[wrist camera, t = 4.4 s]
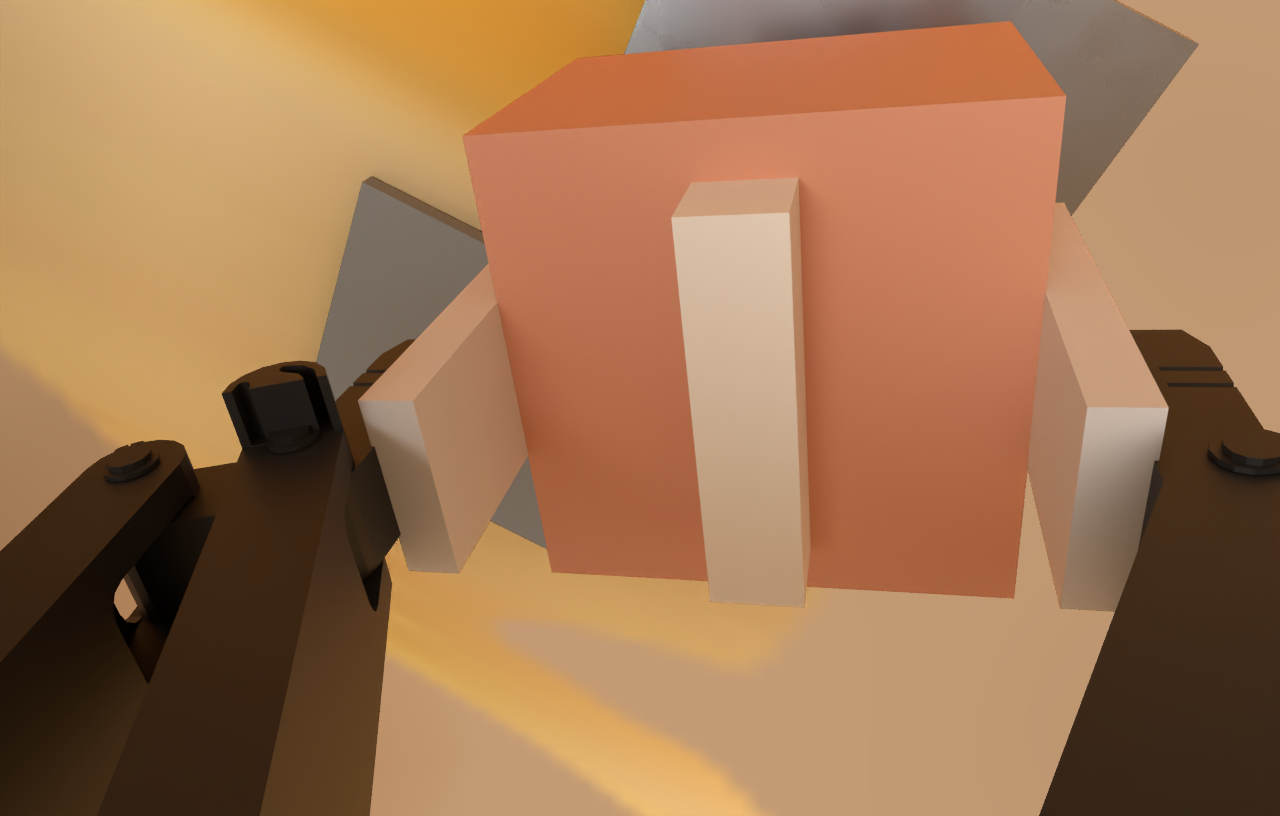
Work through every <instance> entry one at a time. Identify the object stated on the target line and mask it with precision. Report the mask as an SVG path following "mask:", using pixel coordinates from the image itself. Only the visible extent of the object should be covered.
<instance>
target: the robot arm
mask: <svg viewBox="0 0 1280 816" xmlns="http://www.w3.org/2000/svg"><path fill="white" fill-rule="evenodd" d="M222 396H223V399H224V401H225V404H226V406H227V409H228V412H229V414H230V417H231V420H232V422H233V425H234V427H235V430H236V433H237V435H238V438H239V441H240V443H241V446H242V451H241V453H240V456H239V458H238V461H237V462H236V463H230V464H224V465H218V466H212V467H206V468H199V469H193V467H192V464H191V462H190V459H189V457H188V455H187V452H186V450H185V447H184V445H182V444H180V443H178V442H176V441H170V440H155V441H149V442H144V441H140V442H136V443H132V444H131V446H128V445H126V446H123V447H120V448H118V449H116V450H115V451H114V452H113V453H111V454H109V455H107V456H105V457H103V458H101V459H100V460H98V461H97V462H96V463H94V464H93V465H92V466H90V467H89V468H88V469H86V470H85V471H84V472H83V473H82V474H81V475H80V476H79V477H78V478H77V479H76V480H75V481H74V482H73V483H72V484H71V485H69V486H68V487H67V488H66V489H65V490H64V491H63V492H62V493H61V494H60V495H59V496H58V497H57V498H56V499H55V500H54V501H53V502H52V503H51V504H50V505H48V506H47V508H45V509H44V510H43V511H42V512H41V513H40V514H39V515H38V516H37V517H36V518H35V519H34V520H33V521H32V522H31V523H30V524H29V525H27V527H25V528H24V530H22V531H21V532H20V533H19V534H18V535H17V536H16V537H15V538H14V539H13V540H12V541H11V542H10V543H9V544H8V545H6V547H4V548H3V549H2V550H1V551H0V816H370V805H371V795H372V785H373V775H374V764H375V754H376V744H377V734H378V723H379V712H380V702H381V692H382V682H383V672H384V661H385V651H386V641H387V630H388V620H389V610H390V599H391V589H392V582H391V577H390V573H389V570H388V567H387V564H386V561H385V556H386V555H387V553H388V552H389V550H390V549H391V548H392V546H393V545H394V543H395V542H396V540H397V539H398V538H399V539H400V543H401V546H402V549H403V553H404V556H405V559H406V563H407V566H408V569H409V571H423V572H441V573H458V574H459V573H460V571H461V569H462V567H463V566H464V564H465V562H466V561H467V559H468V557H469V556H470V554H471V552H472V550H473V549H474V547H475V545H476V544H477V542H478V540H479V538H480V537H481V535H482V533H483V532H484V530H485V528H486V526H487V525H488V523H489V521H490V520H491V518H492V516H493V515H494V513H495V511H496V509H497V508H498V506H499V504H500V503H501V501H502V499H503V497H504V496H505V494H506V492H507V491H508V489H509V487H510V485H511V484H512V482H513V480H514V479H515V477H516V475H517V474H518V472H519V470H520V468H521V467H522V465H523V463H524V462H525V460H526V458H527V456H528V450H527V445H526V440H525V435H524V431H523V426H522V421H521V416H520V411H519V406H518V401H517V396H516V391H515V386H514V382H513V377H512V372H511V367H510V362H509V357H508V352H507V347H506V342H505V338H504V333H503V328H502V323H501V318H500V313H499V308H498V303H497V302H496V297H495V292H494V287H493V282H492V277H491V273H490V268H489V263H488V264H487V265H486V267H485V268H484V269H483V270H482V271H481V272H480V273H479V274H478V275H477V276H476V277H475V278H474V279H473V280H472V281H471V282H470V283H469V284H468V285H467V286H466V288H465V289H464V290H463V291H462V292H461V293H460V294H459V295H458V296H457V297H456V298H455V299H454V300H453V301H452V302H451V303H450V304H449V305H448V306H447V307H446V309H445V310H444V311H443V312H442V313H441V314H440V315H439V316H438V317H437V318H436V319H435V320H434V321H433V322H432V323H431V324H430V325H429V326H428V327H427V328H426V329H425V331H424V332H423V333H422V334H421V335H420V336H419V337H418V338H417V339H407V340H406V341H404V342H402V343H400V344H399V345H397V346H395V347H393V348H391V349H390V350H388V351H386V352H384V353H382V354H381V355H380V356H379V357H378V358H377V359H376V360H375V361H374V362H373V363H372V364H371V365H370V366H369V367H368V368H367V369H366V373H362V374H361V375H360V376H359V377H358V378H357V379H356V380H355V381H354V382H353V386H349V387H348V389H347V390H346V391H345V392H344V393H343V394H342V395H341V396H340V397H339V398H338V399H337V400H336V401H335V398H334V395H333V392H332V389H331V385H330V382H329V379H328V376H327V373H326V370H325V367H323V366H321V365H320V364H318V363H316V362H307V361H294V362H283V363H279V364H275V365H271V366H267V367H263V368H260V369H258V370H255V371H253V372H251V373H248V374H246V375H244V376H242V377H240V378H239V379H237V380H236V381H234V382H233V383H231V384H230V385H229V386H228V387H227V388H226V389H225V390H224V392H223V393H222ZM1027 469H1028V473H1029V477H1030V482H1031V486H1032V490H1033V494H1034V499H1035V503H1036V507H1037V511H1038V516H1039V520H1040V525H1041V529H1042V533H1043V538H1044V542H1045V546H1046V550H1047V555H1048V559H1049V564H1050V568H1051V572H1052V576H1053V581H1054V585H1055V589H1056V593H1057V598H1058V602H1059V606H1060V608H1062V609H1079V610H1096V611H1113V612H1115V614H1114V616H1113V619H1112V622H1111V624H1110V627H1109V630H1108V632H1107V635H1106V638H1105V640H1104V643H1103V646H1102V648H1101V651H1100V654H1099V656H1098V659H1097V662H1096V664H1095V667H1094V670H1093V673H1092V675H1091V678H1090V681H1089V683H1088V686H1087V689H1086V691H1085V694H1084V697H1083V699H1082V702H1081V705H1080V708H1079V710H1078V713H1077V716H1076V718H1075V721H1074V724H1073V726H1072V729H1071V732H1070V734H1069V737H1068V740H1067V743H1066V745H1065V748H1064V750H1063V753H1062V756H1061V758H1060V761H1059V764H1058V767H1057V769H1056V772H1055V775H1054V777H1053V780H1052V783H1051V785H1050V788H1049V791H1048V793H1047V796H1046V799H1045V801H1044V804H1043V807H1042V809H1041V812H1040V815H1039V816H1280V433H1276V432H1272V431H1269V430H1264V429H1263V427H1262V426H1261V424H1260V423H1259V421H1258V419H1257V418H1256V416H1255V415H1254V413H1253V412H1252V410H1251V409H1250V407H1249V406H1248V404H1247V403H1246V401H1245V400H1244V398H1243V396H1242V395H1241V393H1240V392H1239V391H1238V389H1237V388H1236V387H1234V383H1233V381H1232V380H1231V378H1230V377H1229V375H1228V374H1227V372H1226V371H1223V366H1222V364H1221V363H1220V362H1219V360H1218V358H1217V357H1216V355H1215V354H1214V352H1213V351H1212V349H1211V348H1210V347H1209V346H1208V345H1206V344H1204V343H1203V342H1201V341H1199V340H1198V339H1196V338H1194V337H1193V336H1191V335H1189V334H1188V333H1186V332H1184V331H1182V330H1129V329H1128V327H1127V325H1126V323H1125V321H1124V319H1123V317H1122V315H1121V313H1120V311H1119V310H1118V308H1117V305H1116V304H1115V302H1114V300H1113V298H1112V296H1111V294H1110V292H1109V290H1108V288H1107V286H1106V284H1105V282H1104V280H1103V278H1102V276H1101V274H1100V272H1099V270H1098V268H1097V266H1096V264H1095V263H1094V260H1093V258H1092V256H1091V255H1090V253H1089V251H1088V249H1087V247H1086V245H1085V243H1084V241H1083V239H1082V237H1081V235H1080V233H1079V231H1078V229H1077V227H1076V225H1075V223H1074V221H1073V219H1072V217H1071V215H1070V213H1069V211H1068V209H1067V207H1066V205H1065V203H1055V210H1054V219H1053V229H1052V239H1051V248H1050V258H1049V267H1048V277H1047V287H1046V292H1045V299H1044V309H1043V318H1042V328H1041V338H1040V347H1039V357H1038V367H1037V376H1036V386H1035V395H1034V405H1033V415H1032V424H1031V434H1030V444H1029V453H1028V463H1027ZM123 578H124V580H125V582H126V584H127V586H128V588H129V590H130V592H131V594H132V596H133V598H134V600H135V602H136V604H137V607H136V609H135V610H134V611H133V613H132V614H131V615H130V616H129V617H128V618H127V619H126V620H124V618H123V617H122V616H121V615H120V614H119V612H118V610H117V608H116V606H115V604H114V595H115V592H116V590H117V588H118V586H119V584H120V582H121V580H122V579H123Z"/></svg>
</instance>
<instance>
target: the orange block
mask: <svg viewBox="0 0 1280 816" xmlns="http://www.w3.org/2000/svg"><path fill="white" fill-rule="evenodd" d="M1065 104H1066V95H1065V93H1064V92H1063V91H1062V89H1061V88H1060V87H1059V85H1058V84H1057V83H1056V81H1055V80H1054V79H1053V77H1052V76H1051V75H1050V73H1049V72H1048V70H1047V69H1046V68H1045V66H1044V65H1043V64H1042V62H1041V61H1040V60H1039V58H1038V57H1037V56H1036V54H1035V53H1034V52H1033V50H1032V49H1031V48H1030V46H1029V45H1028V44H1027V42H1026V41H1025V40H1024V38H1023V37H1022V36H1021V34H1020V33H1019V32H1018V30H1017V29H1016V28H1015V26H1014V25H1013V24H1012V22H1011V21H1005V22H994V23H982V24H971V25H959V26H947V27H936V28H924V29H912V30H901V31H889V32H877V33H866V34H854V35H842V36H831V37H819V38H807V39H796V40H784V41H772V42H761V43H749V44H738V45H726V46H714V47H703V48H691V49H679V50H668V51H656V52H644V53H633V54H621V55H609V56H598V57H586V58H577V59H576V60H574V61H573V62H571V63H570V64H568V65H567V66H565V67H564V68H562V69H561V70H559V71H558V72H556V73H555V74H553V75H552V76H551V77H549V78H548V79H546V80H545V81H543V82H542V83H540V84H539V85H537V86H536V87H534V88H533V89H531V90H530V91H528V92H527V93H525V94H524V95H522V96H521V97H519V98H518V99H516V100H515V101H514V102H512V103H511V104H509V105H508V106H506V107H505V108H503V109H502V110H500V111H499V112H497V113H496V114H494V115H493V116H491V117H490V118H488V119H487V120H485V121H484V122H482V123H481V124H479V125H478V126H476V127H475V128H474V129H472V130H471V131H469V132H468V133H466V134H465V135H463V141H464V146H465V151H466V155H467V160H468V165H469V170H470V175H471V180H472V185H473V190H474V194H475V199H476V204H477V209H478V214H479V219H480V224H481V229H482V233H483V238H484V243H485V248H486V253H487V258H488V263H489V268H490V273H491V277H492V282H493V287H494V292H495V297H496V302H497V303H498V308H499V313H500V318H501V323H502V328H503V333H504V338H505V342H506V347H507V352H508V357H509V362H510V367H511V372H512V377H513V382H514V386H515V391H516V396H517V401H518V406H519V411H520V416H521V421H522V426H523V431H524V435H525V440H526V445H527V450H528V458H529V463H530V468H531V473H532V477H533V482H534V487H535V492H536V497H537V502H538V507H539V512H540V516H541V521H542V526H543V531H544V536H545V541H546V546H547V551H548V556H549V560H550V565H551V570H552V572H558V573H576V574H593V575H611V576H628V577H646V578H664V579H681V580H699V581H708V584H709V594H710V602H722V603H738V604H754V605H770V606H786V607H802V608H804V606H805V597H806V587H822V588H840V589H857V590H875V591H894V592H910V593H928V594H945V595H963V596H981V597H999V598H1014V593H1015V584H1016V575H1017V565H1018V555H1019V546H1020V545H1019V544H1020V536H1021V526H1022V517H1023V507H1024V498H1025V487H1026V479H1027V478H1026V477H1027V463H1028V453H1029V444H1030V434H1031V424H1032V415H1033V405H1034V395H1035V386H1036V376H1037V367H1038V357H1039V347H1040V338H1041V328H1042V318H1043V309H1044V299H1045V292H1046V287H1047V277H1048V267H1049V258H1050V248H1051V239H1052V229H1053V219H1054V210H1055V200H1056V191H1057V181H1058V172H1059V162H1060V152H1061V143H1062V133H1063V123H1064V114H1065Z"/></svg>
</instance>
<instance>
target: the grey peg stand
mask: <svg viewBox="0 0 1280 816" xmlns="http://www.w3.org/2000/svg"><path fill="white" fill-rule="evenodd" d="M1005 21H1011V22H1012V24H1013V25H1014V26H1015V28H1016V29H1017V30H1018V32H1019V33H1020V34H1021V36H1022V37H1023V38H1024V40H1025V41H1026V42H1027V44H1028V45H1029V46H1030V48H1031V49H1032V50H1033V52H1034V53H1035V54H1036V56H1037V57H1038V58H1039V60H1040V61H1041V62H1042V64H1043V65H1044V66H1045V68H1046V69H1047V70H1048V72H1049V73H1050V75H1051V76H1052V77H1053V79H1054V80H1055V81H1056V83H1057V84H1058V85H1059V87H1060V88H1061V89H1062V91H1063V92H1064V93H1065V95H1066V104H1065V114H1064V123H1063V133H1062V143H1061V152H1060V162H1059V172H1058V181H1057V191H1056V200H1055V203H1065V205H1066V207H1067V209H1068V211H1069V213H1070V215H1071V216H1072V214H1073V213H1074V212H1075V210H1076V209H1077V208H1078V206H1079V205H1080V204H1081V202H1082V201H1083V200H1084V198H1085V197H1086V196H1087V194H1088V193H1089V191H1090V190H1091V189H1092V188H1093V186H1094V185H1095V183H1096V182H1097V181H1098V179H1099V178H1100V177H1101V175H1102V174H1103V172H1104V171H1105V170H1106V169H1107V167H1108V166H1109V165H1110V163H1111V162H1112V160H1113V159H1114V157H1116V155H1117V153H1118V152H1119V151H1120V150H1121V148H1122V147H1123V146H1124V144H1125V143H1126V142H1127V140H1128V139H1129V138H1130V136H1131V135H1132V134H1133V132H1134V131H1135V130H1136V128H1137V127H1138V126H1139V124H1140V123H1141V121H1142V120H1143V119H1144V118H1145V116H1146V115H1147V113H1148V112H1149V111H1150V109H1151V108H1152V107H1153V105H1154V104H1155V103H1156V101H1157V100H1158V99H1159V97H1160V96H1161V94H1162V93H1163V92H1164V91H1165V89H1166V88H1167V87H1168V85H1169V84H1170V83H1171V81H1172V80H1173V78H1174V77H1175V76H1176V74H1177V73H1178V72H1179V70H1180V69H1181V68H1182V66H1183V65H1184V64H1185V62H1186V61H1187V60H1188V58H1189V57H1190V55H1191V54H1192V53H1193V52H1194V50H1195V49H1196V47H1197V46H1198V43H1196V42H1194V41H1193V40H1191V39H1190V38H1188V37H1186V36H1184V35H1182V34H1180V33H1178V32H1176V31H1175V30H1173V29H1171V28H1169V27H1166V26H1165V25H1163V24H1161V23H1159V22H1157V21H1155V20H1153V19H1151V18H1149V17H1147V16H1145V15H1144V14H1141V13H1140V12H1138V11H1136V10H1134V9H1132V8H1130V7H1128V6H1126V5H1124V4H1122V3H1120V2H1118V1H1116V0H645V2H644V5H643V8H642V10H641V13H640V15H639V18H638V20H637V23H636V25H635V28H634V30H633V33H632V35H631V38H630V40H629V43H628V45H627V48H626V50H625V53H624V54H633V53H644V52H656V51H668V50H679V49H691V48H703V47H714V46H726V45H738V44H749V43H761V42H772V41H784V40H796V39H807V38H819V37H831V36H842V35H854V34H866V33H877V32H889V31H901V30H912V29H924V28H936V27H947V26H959V25H971V24H982V23H994V22H1005Z"/></svg>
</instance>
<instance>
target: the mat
mask: <svg viewBox="0 0 1280 816" xmlns="http://www.w3.org/2000/svg"><path fill="white" fill-rule="evenodd" d="M487 264H488V258H487V253H486V248H485V243H484V238H483V233H482V232H481V231H479V230H477V229H475V228H473V227H471V226H469V225H467V224H465V223H463V222H461V221H459V220H457V219H455V218H453V217H451V216H449V215H447V214H445V213H443V212H441V211H439V210H437V209H435V208H433V207H431V206H429V205H427V204H425V203H423V202H421V201H419V200H417V199H415V198H413V197H411V196H409V195H407V194H406V193H404V192H402V191H400V190H398V189H396V188H394V187H392V186H390V185H388V184H386V183H384V182H382V181H380V180H378V179H376V178H374V177H370V178H368V179H367V180H365V181H363V182H362V185H361V189H360V193H359V197H358V201H357V205H356V209H355V213H354V216H353V220H352V224H351V228H350V232H349V236H348V240H347V244H346V248H345V252H344V256H343V260H342V263H341V267H340V271H339V275H338V279H337V283H336V287H335V291H334V295H333V299H332V303H331V307H330V310H329V314H328V318H327V322H326V326H325V330H324V334H323V338H322V342H321V346H320V350H319V353H318V357H317V361H316V363H318V364H320V365H321V366H323V367H325V370H326V373H327V376H328V379H329V382H330V385H331V389H332V392H333V395H334V398H335V401H336V400H337V399H338V398H339V397H340V396H341V395H342V394H343V393H344V392H345V391H346V390H347V389H348V387H349V386H353V382H354V381H355V380H356V379H357V378H358V377H359V376H360V375H361V374H362V373H366V369H367V368H368V367H369V366H370V365H371V364H372V363H373V362H374V361H375V360H376V359H377V358H378V357H379V356H380V355H381V354H382V353H384V352H386V351H388V350H390V349H391V348H393V347H395V346H397V345H399V344H400V343H402V342H404V341H406V340H407V339H417V338H418V337H419V336H420V335H421V334H422V333H423V332H424V331H425V329H426V328H427V327H428V326H429V325H430V324H431V323H432V322H433V321H434V320H435V319H436V318H437V317H438V316H439V315H440V314H441V313H442V312H443V311H444V310H445V309H446V307H447V306H448V305H449V304H450V303H451V302H452V301H453V300H454V299H455V298H456V297H457V296H458V295H459V294H460V293H461V292H462V291H463V290H464V289H465V288H466V286H467V285H468V284H469V283H470V282H471V281H472V280H473V279H474V278H475V277H476V276H477V275H478V274H479V273H480V272H481V271H482V270H483V269H484V268H485V267H486V265H487ZM490 521H492V522H494V523H496V524H498V525H500V526H502V527H504V528H506V529H508V530H510V531H512V532H514V533H516V534H518V535H520V536H522V537H524V538H526V539H528V540H530V541H532V542H534V543H536V544H538V545H540V546H542V547H544V548H546V549H547V546H546V541H545V536H544V531H543V526H542V521H541V516H540V512H539V507H538V502H537V497H536V492H535V487H534V482H533V477H532V473H531V468H530V463H529V458H528V456H527V458H526V460H525V462H524V463H523V465H522V467H521V468H520V470H519V472H518V474H517V475H516V477H515V479H514V480H513V482H512V484H511V485H510V487H509V489H508V491H507V492H506V494H505V496H504V497H503V499H502V501H501V503H500V504H499V506H498V508H497V509H496V511H495V513H494V515H493V516H492V518H491V520H490Z"/></svg>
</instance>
